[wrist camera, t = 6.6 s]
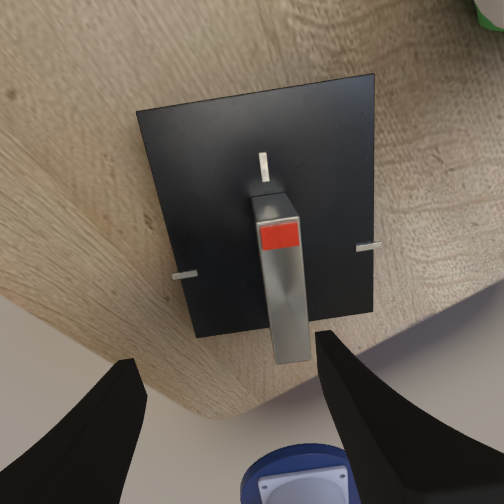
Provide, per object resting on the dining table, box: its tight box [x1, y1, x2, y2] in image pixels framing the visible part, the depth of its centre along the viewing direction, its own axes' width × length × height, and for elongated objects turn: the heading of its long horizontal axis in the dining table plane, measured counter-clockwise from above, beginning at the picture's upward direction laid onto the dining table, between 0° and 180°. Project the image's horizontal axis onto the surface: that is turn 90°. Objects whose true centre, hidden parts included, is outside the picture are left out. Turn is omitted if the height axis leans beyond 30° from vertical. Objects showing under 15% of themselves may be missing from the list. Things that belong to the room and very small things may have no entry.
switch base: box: [136, 73, 381, 338], centre depth 19 cm, size 14×12×3 cm
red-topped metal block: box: [251, 193, 312, 365], centre depth 16 cm, size 8×2×4 cm, turn 8°
